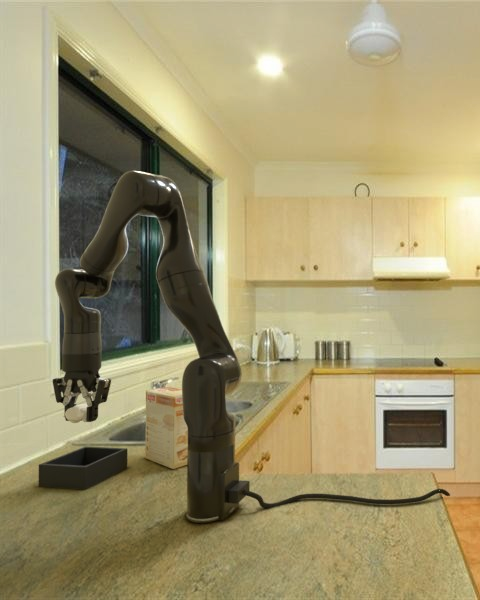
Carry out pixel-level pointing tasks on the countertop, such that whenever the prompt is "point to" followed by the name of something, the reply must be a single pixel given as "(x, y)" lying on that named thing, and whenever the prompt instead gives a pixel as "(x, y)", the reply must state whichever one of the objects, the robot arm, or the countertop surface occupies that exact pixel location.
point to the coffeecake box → (166, 427)
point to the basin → (82, 467)
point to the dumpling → (77, 413)
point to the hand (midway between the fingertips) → (81, 420)
